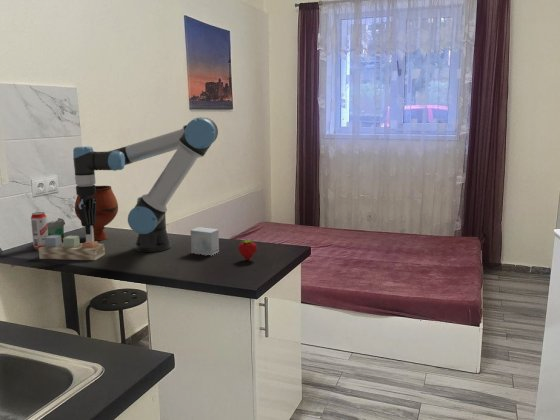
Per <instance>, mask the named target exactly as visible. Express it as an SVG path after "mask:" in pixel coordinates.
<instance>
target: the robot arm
mask: <svg viewBox="0 0 560 420" xmlns="http://www.w3.org/2000/svg"><path fill="white" fill-rule="evenodd" d="M218 134H219V129H218V126H217V124H216V123H215V121H214V120H212V119H211V118H208V117H201V116H199V117H196V118H195V117H194V118H193V119H191V120H190V121H189V122H188V123H187V124H186V125H183V126H182V128H181V129H178V130H174V131H171V132H168V133H164V134H161V135H158V136H155V137H151V138H149V139H145V140H142V141H138V142H136V143H132V144H130V145H129V144H128V145H126V146H121V147H120V148H116V149H113V150H109V151H108V150H107V151H94V149H93V147H92V146H76V147H74V148H73V154H72V155H73V159H72V160H73V167H74V179H75V180H74V181H75V185H76V186H75V191H76V192H75V193H76V196H78V195H79V196H80V204H77V208H78V210H79V215H80V219H79V220H80V224H81V226H82V227H84V229H85V230H84V231H85V242H93V241H94V232H93V225H95V224H94V223H95V222H96V204H97V200H96V199H94V197H93V195H94V194H96V186H97V185H95V184H96V173H95V171H113V172H115V171H122V170H124V168H125V166H127V165H130V164H133V163H137V162H139V161H142V160H146V159H150V158H152V157H157V156H159V155H163V154H166V153H170V152H173V151H175V150H176V151H175V152H174V154H173V155H172V156H171V159H170V160H169V162H168V163H167V164H166V165H165V167H164V169H163V170H162V172H161V173H160V175H159V176H158V178H157V180H156V181H155V182H154V184H153V186H152V187H151V189H150V191H148V193H147V194H146V193H145V194H143V195H141V196H139V197H137V201H136V205H135V206H134V207H133V208H132V209H131V210H130V211H129V213H128V215H127V224H128V226H129V227H130V229H131V230H132V231H133V232H134V233H137V234H138V235H137V237H136V242H135V251H138V252H143V253H155V252H163V251H167V250H168V249H170V248H171V246H172V242H171V239H170V237H169V233H168V232H167V223H166V222H167V221H166V217H167V216H166V214H167V213H166V212H167V210H168V209H167V204H168V203H169V202H170V200H171V199H172V197H173V196H174V194H175V192H176V191H177V189H178V188H179V187H180V185H181V183H182V182H183V180H184V179H185V177H187V175H188V173H189V172H190V170H191V168H192V167H193V166H194V164H195V163H196V162H197V160H198V158H203V157H204V156H205V155H206V153H207V152H208V150H209V149H210V147H211V145H212V144H213V143H214V142H215V141H216V140H217V138H218Z"/></svg>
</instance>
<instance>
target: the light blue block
mask: <svg viewBox="0 0 560 420" xmlns="http://www.w3.org/2000/svg"><path fill="white" fill-rule="evenodd" d="M62 243H63V242H62V241H61V235H50V236H48V237H45V247H55V248H56V247H58V246H60V245H62Z"/></svg>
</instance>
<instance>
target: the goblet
mask: <svg viewBox="0 0 560 420" xmlns="http://www.w3.org/2000/svg"><path fill="white" fill-rule="evenodd" d="M95 186H96V194H94V195H93V197H94V199H96V200H97V204H96V222H95V223H94V224H95V225H93V232H94V241H104V240H107V239H108V238H109V236H108V235H107V234H106V232H105V231H104V230H105V227H106V226H107V225H109V224H110V223H111V222H113V220H114V219H115V217H116V216H117V214H118V210H119V203H118V199H117V198H116V196H115V194H114V192H113V189H112V186H111V185H95ZM76 196H77V197H76V198H75V202H74V213H75V215H76V217H77V218H78V219H79V220H80V215H79V210H78V208H77V204H80V196H79V195H76Z"/></svg>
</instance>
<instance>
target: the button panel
mask: <svg viewBox="0 0 560 420" xmlns="http://www.w3.org/2000/svg"><path fill="white" fill-rule="evenodd" d="M83 243H84V242H83ZM83 243H80V245H79V246H77V247H75V248H64V244H63V242H62V245H60V246H58V247H56V248H55V247H45V245H44V246H42V247H40V248H39V250H38V255H39V256H38V257H39V260H75V261H77V260H78V261H97V260H98V259H100V258H101V257H103V256H104V255H106V249H105V243H98V246H97V247H96V248H94V249H92V248H82V244H83Z"/></svg>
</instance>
